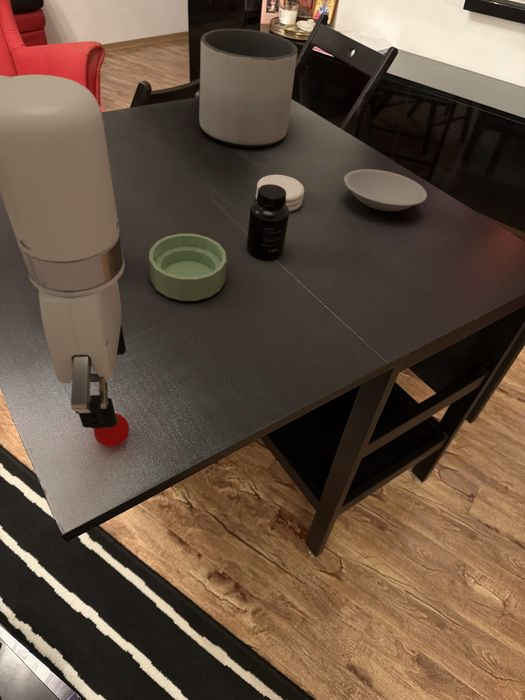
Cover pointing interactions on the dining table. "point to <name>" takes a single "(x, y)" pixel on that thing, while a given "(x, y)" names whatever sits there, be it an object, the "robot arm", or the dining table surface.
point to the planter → (246, 86)
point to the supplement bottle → (268, 223)
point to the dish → (384, 189)
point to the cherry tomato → (113, 433)
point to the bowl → (187, 267)
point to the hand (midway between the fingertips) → (106, 386)
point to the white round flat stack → (291, 187)
